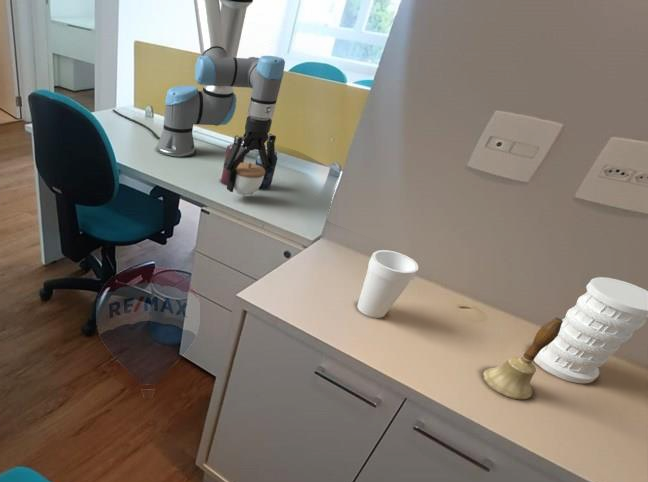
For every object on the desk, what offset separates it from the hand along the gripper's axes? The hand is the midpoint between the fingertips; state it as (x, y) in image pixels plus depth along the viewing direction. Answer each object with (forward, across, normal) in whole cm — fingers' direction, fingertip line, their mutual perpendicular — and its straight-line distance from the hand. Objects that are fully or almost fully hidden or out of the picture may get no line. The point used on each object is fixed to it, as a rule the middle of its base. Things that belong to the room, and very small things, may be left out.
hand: (244, 188), depth 147 cm
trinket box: (+1, 0, 0) cm, 1 cm away
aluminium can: (+3, +3, +14) cm, 14 cm away
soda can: (+3, +12, +8) cm, 15 cm away
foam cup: (+4, -5, -64) cm, 64 cm away
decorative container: (+4, +21, -92) cm, 94 cm away
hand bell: (+4, +3, -92) cm, 92 cm away
